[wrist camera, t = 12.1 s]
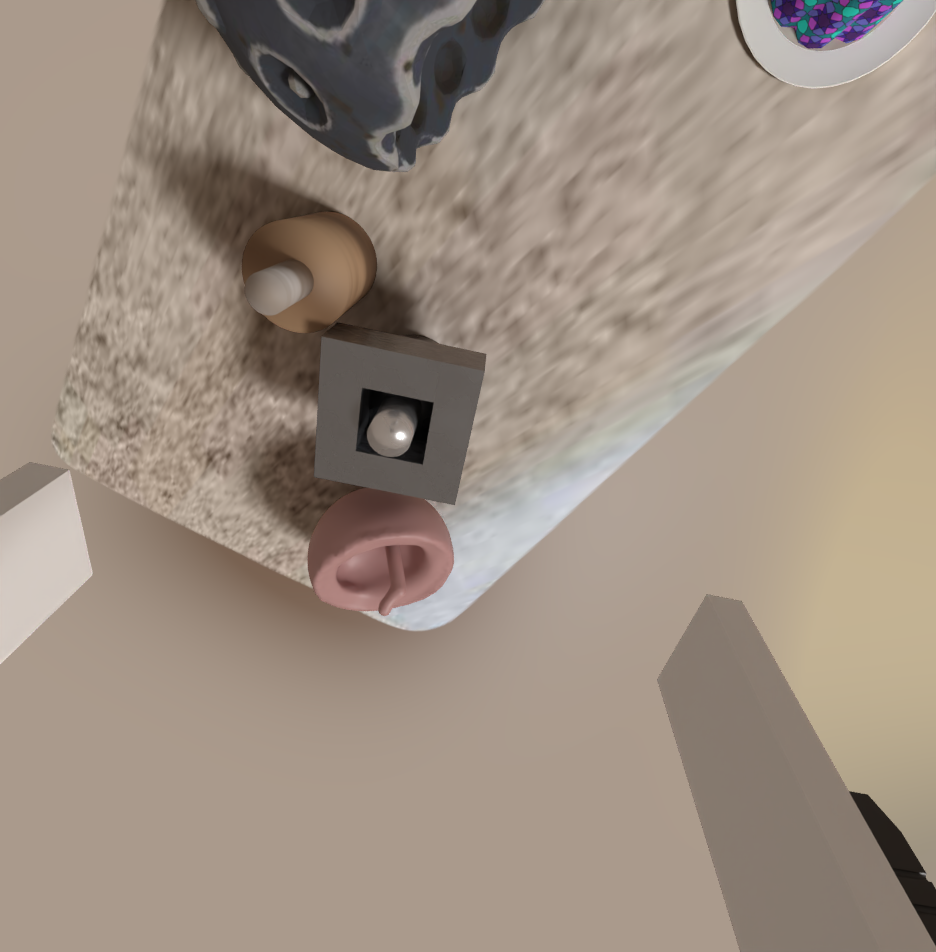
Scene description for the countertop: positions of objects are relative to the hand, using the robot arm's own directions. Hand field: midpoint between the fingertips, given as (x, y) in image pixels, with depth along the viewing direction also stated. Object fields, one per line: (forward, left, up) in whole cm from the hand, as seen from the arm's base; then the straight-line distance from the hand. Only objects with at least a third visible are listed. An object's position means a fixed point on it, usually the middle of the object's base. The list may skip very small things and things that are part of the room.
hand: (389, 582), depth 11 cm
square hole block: (+8, +1, -26) cm, 27 cm away
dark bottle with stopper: (+8, +1, -32) cm, 33 cm away
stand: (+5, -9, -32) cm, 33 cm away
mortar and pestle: (+20, +8, -32) cm, 38 cm away
